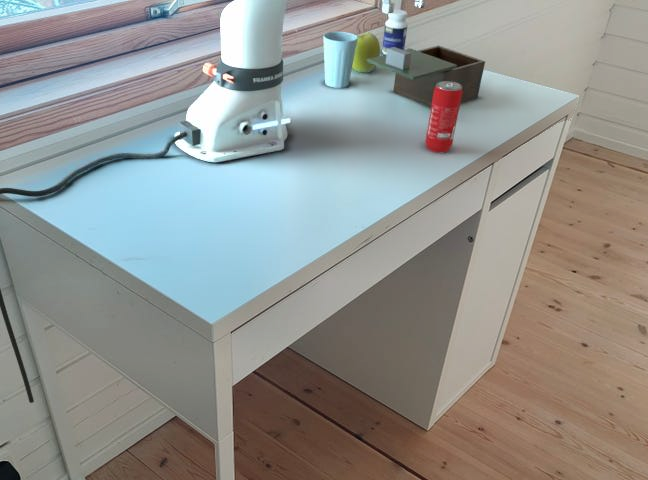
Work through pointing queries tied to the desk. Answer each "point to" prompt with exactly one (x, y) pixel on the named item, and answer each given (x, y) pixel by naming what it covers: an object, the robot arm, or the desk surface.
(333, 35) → the cup
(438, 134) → the beverage can
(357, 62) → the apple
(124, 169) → the desk surface
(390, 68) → the slide lid
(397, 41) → the pill bottle
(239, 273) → the desk surface
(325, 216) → the desk surface
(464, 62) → the wooden box
